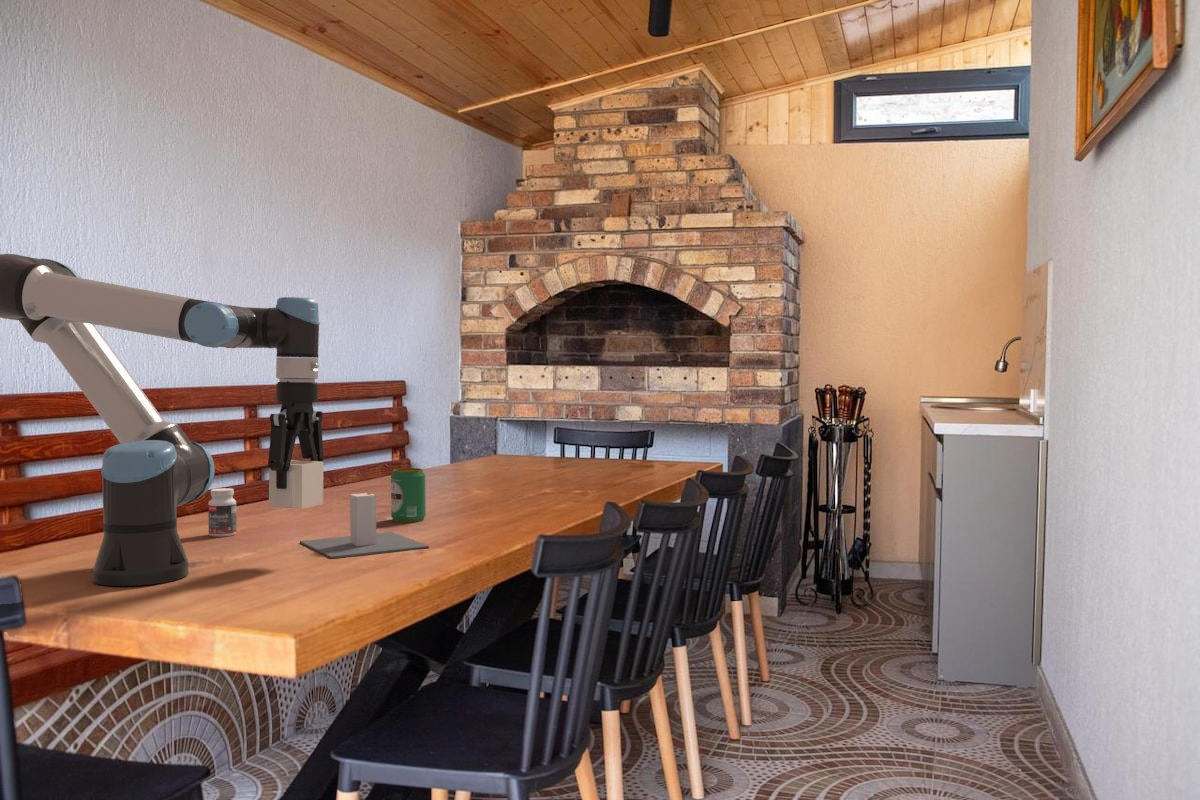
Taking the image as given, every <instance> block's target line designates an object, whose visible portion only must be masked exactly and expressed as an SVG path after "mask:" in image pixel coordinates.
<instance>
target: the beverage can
mask: <svg viewBox="0 0 1200 800" xmlns="http://www.w3.org/2000/svg"><path fill="white" fill-rule="evenodd" d="M390 495H391V496H390V498H391V499H390V500H391V501H390V502H391V503H390V504H391V505H390V509H391V510H390V511H391V513H390V514H391V518H392V521H393V522H395V523H417V522H422V521H424V519H425V517H426V512H427V510H426V509H427V508H426V503H427V502H426V473H425V472H424V470H423V468H418V467H417V468H416V467H404V468H394V469H393V471H392V473H391V475H390Z"/></svg>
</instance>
